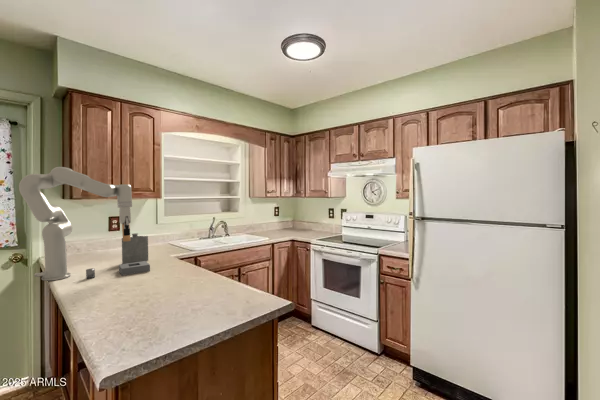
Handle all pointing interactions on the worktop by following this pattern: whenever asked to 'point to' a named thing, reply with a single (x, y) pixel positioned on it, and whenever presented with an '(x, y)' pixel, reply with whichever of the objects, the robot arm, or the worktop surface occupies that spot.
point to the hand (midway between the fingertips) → (126, 234)
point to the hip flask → (135, 249)
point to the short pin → (90, 273)
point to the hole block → (134, 268)
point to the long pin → (125, 238)
